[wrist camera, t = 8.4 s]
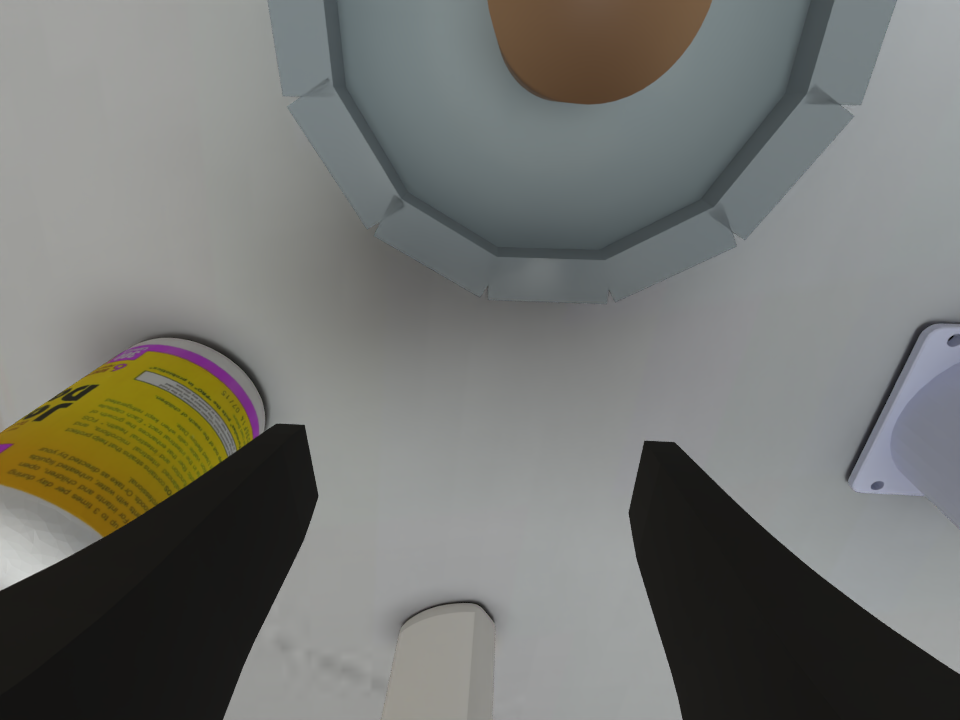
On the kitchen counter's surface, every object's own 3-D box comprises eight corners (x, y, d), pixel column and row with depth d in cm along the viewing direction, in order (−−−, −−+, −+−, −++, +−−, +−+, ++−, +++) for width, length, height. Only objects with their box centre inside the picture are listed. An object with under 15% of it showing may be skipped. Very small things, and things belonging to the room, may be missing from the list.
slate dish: (987, -438, 10) (1086, -549, 8) (762, 289, 18) (790, 310, 16) (238, -413, 11) (186, -511, 9) (332, 275, 18) (314, 293, 17)
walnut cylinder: (652, -72, 13) (752, -194, 7) (628, 102, 14) (693, 105, 9) (498, -71, 13) (487, -190, 8) (494, 100, 15) (484, 103, 9)
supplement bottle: (168, 300, 19) (-306, 580, 8) (300, 404, 22) (67, 743, 10) (95, 393, 22) (-348, 708, 11) (220, 478, 24) (-40, 818, 13)
